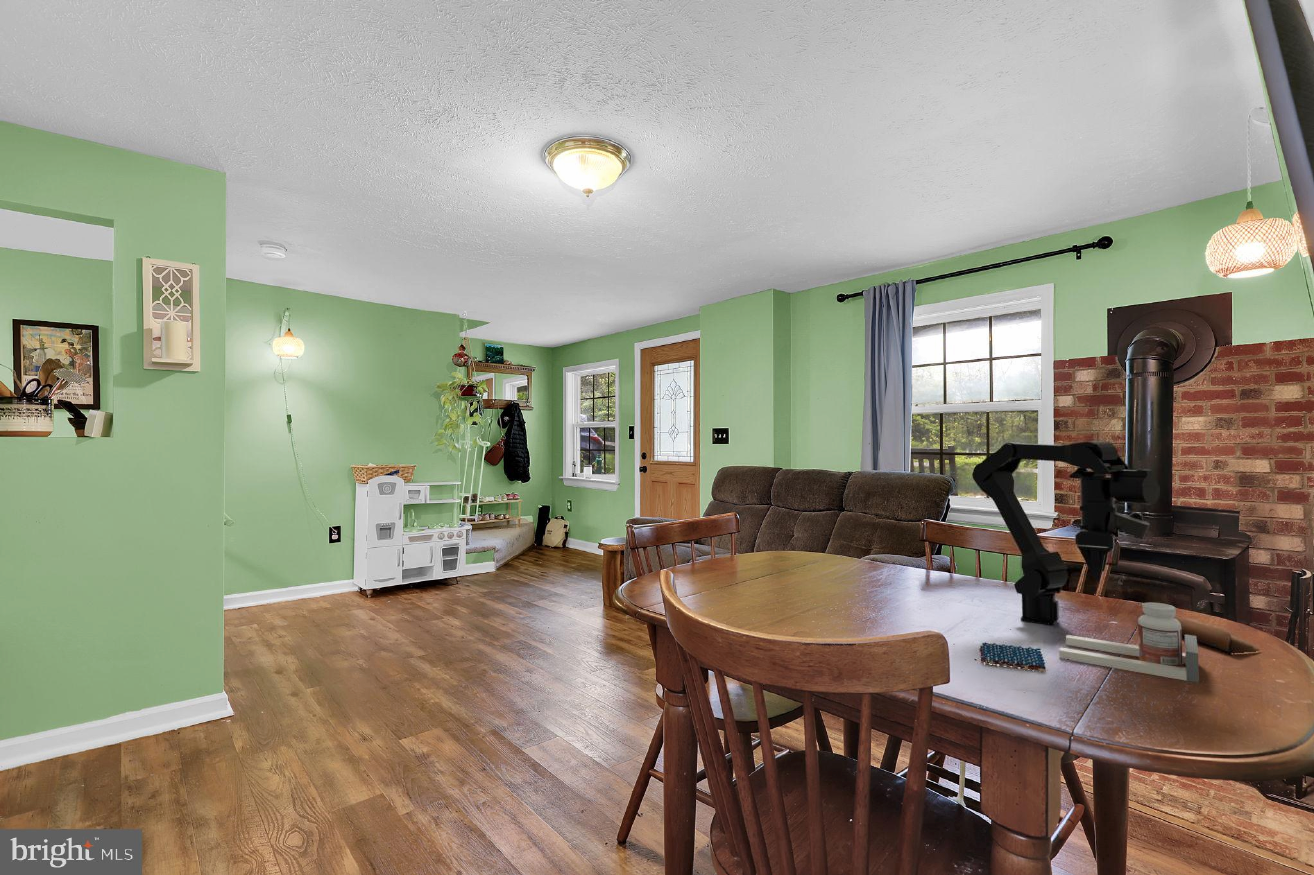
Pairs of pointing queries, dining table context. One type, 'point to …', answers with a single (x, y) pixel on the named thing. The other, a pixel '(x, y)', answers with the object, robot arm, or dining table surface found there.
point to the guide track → (1129, 664)
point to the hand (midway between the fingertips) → (1099, 574)
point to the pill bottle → (1160, 635)
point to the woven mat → (1012, 656)
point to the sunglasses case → (1214, 636)
